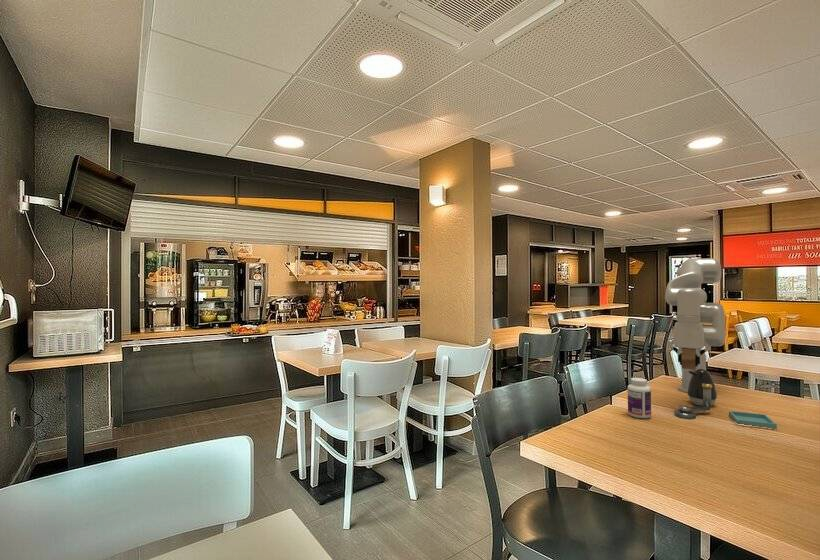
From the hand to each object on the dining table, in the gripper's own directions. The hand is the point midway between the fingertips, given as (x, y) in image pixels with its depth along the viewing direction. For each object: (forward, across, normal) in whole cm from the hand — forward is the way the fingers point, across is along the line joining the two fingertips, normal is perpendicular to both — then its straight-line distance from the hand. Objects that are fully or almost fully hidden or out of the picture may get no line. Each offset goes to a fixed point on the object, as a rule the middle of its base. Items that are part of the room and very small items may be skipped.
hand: (688, 364), depth 164 cm
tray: (+19, +19, -1) cm, 27 cm away
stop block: (+1, 0, 0) cm, 1 cm away
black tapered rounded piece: (+20, +4, +15) cm, 25 cm away
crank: (+17, +2, -2) cm, 18 cm away
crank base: (+19, -1, -6) cm, 20 cm away
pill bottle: (+19, -15, -16) cm, 30 cm away
